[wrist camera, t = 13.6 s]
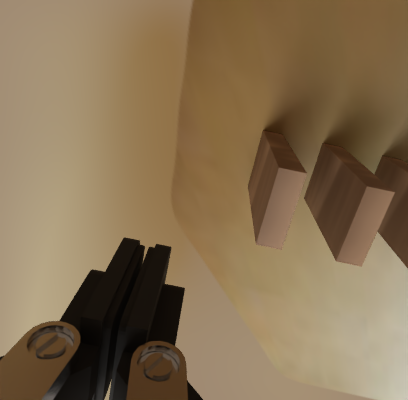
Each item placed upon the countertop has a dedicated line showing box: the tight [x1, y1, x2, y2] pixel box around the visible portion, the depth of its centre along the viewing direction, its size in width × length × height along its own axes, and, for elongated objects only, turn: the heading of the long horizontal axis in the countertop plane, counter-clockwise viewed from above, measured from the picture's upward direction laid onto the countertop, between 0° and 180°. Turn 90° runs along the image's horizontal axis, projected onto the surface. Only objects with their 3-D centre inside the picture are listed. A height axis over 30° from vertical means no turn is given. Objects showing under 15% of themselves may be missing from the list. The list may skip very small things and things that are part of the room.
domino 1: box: [248, 130, 307, 250], centre depth 25 cm, size 2×5×10 cm, turn 169°
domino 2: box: [304, 143, 395, 266], centre depth 25 cm, size 2×5×10 cm, turn 169°
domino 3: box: [375, 156, 408, 268], centre depth 25 cm, size 2×5×10 cm, turn 169°
